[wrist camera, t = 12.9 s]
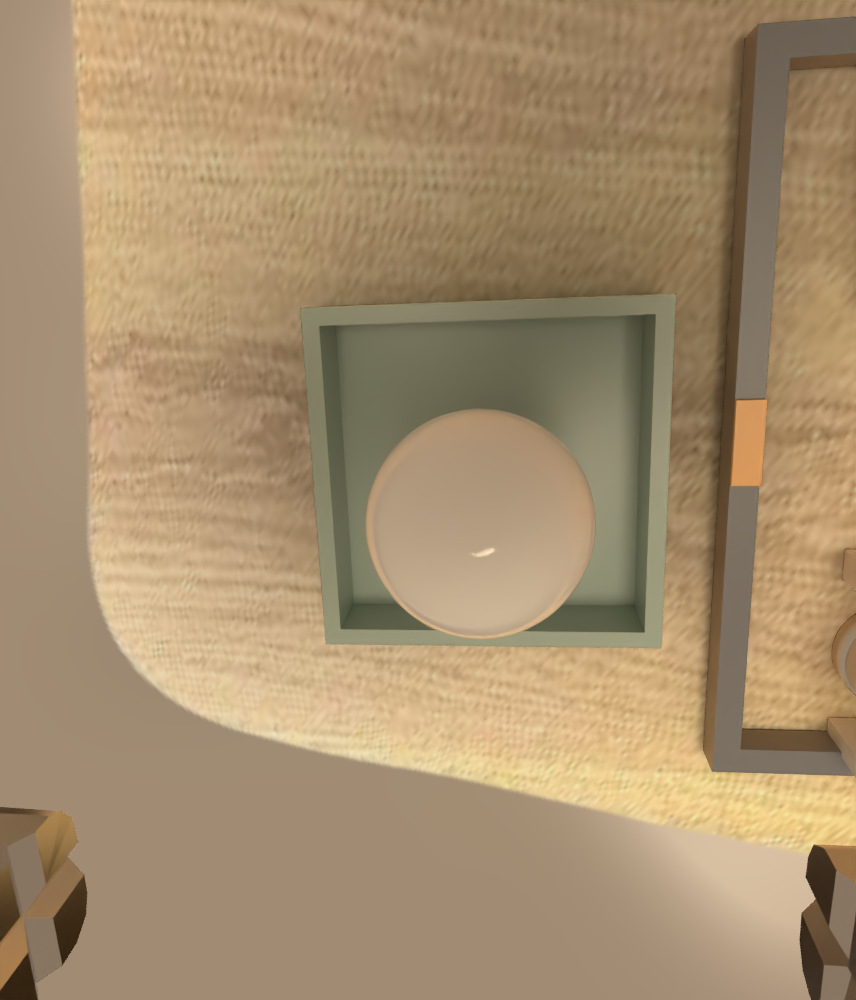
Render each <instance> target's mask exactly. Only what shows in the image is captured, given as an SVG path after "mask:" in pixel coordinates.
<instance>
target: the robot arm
mask: <svg viewBox="0 0 856 1000" xmlns="http://www.w3.org/2000/svg"><path fill="white" fill-rule="evenodd" d="M77 843H78V840H77V836H76V831H75V827H74V823H73V819H72V817H71V816H69V815H67V814H65V813H63V812H62V811H51V810H35V809H21V808H8V807H0V1000H38V988H37V982H39V981H40V980H42V979H43V978H45V977H46V976H48V975H49V974H51V973H52V972H54V971H55V970H57V969H58V968H60V967H61V966H62V965H63V964H64V962H65V960H66V959H67V958H68V956H69V954H70V953H71V951H72V950H73V948H74V946H75V945H76V943H77V941H78V938H79V935H80V932H81V928H82V925H83V923H84V920H85V917H86V906H87V888H86V882H85V876H84V874H83V873H82V872H81V871H80V869H79V868H78V867H77V866H76V865H75V864H74V863H73V862H72V861H71V860H70V858H69V856H70V854H71V852H72V851H73V849H74V848H75V846H76V844H77ZM806 879H807V881H808V883H809V885H810V888H811V890H812V892H813V894H814V896H815V898H816V900H815V901H814V902H813V903H812V904H810V906H809V907H807V908H806V909H805V910H804V911H803V912H802V915H801V928H800V929H801V930H800V949H801V958H802V967H803V973H804V977H805V980H806V984H807V988H808V992H809V995H810V998H811V1000H856V846H838V845H813V847H812V849H811V852H810V854H809V856H808V863H807V871H806Z"/></svg>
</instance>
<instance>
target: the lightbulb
mask: <svg viewBox="0 0 856 1000" xmlns="http://www.w3.org/2000/svg"><path fill="white" fill-rule="evenodd" d="M365 531H366V540H367V546H368V550H369V554H370V558H371V561H372V563H373V566H374V568H375V571H376V573H377V575H378V577H379V579H380V580H381V582H382V584H383V585H384V587H385V588H386V590H387V591H388V593H389V594H390V595H391V596H392V598H393V599H394V600H395V601H396V602H397V603H398V604H399V605H400V606H401V607H402V608H403V609H404V610H405V611H406V612H408V613H409V614H410V615H411V616H413V617H414V618H416V619H417V620H419V621H420V622H422V623H423V624H425V625H427V626H429V627H431V628H433V629H435V630H438V631H440V632H443V633H446V634H449V635H453V636H458V637H463V638H472V639H489V638H498V637H504V636H508V635H512V634H515V633H518V632H521V631H524V630H526V629H528V628H530V627H532V626H534V625H536V624H538V623H540V622H541V621H543V620H545V619H546V618H548V617H549V616H550V615H552V614H553V613H554V612H555V611H556V610H557V609H559V608H560V607H561V606H562V605H563V604H564V603H565V602H566V601H567V599H568V598H569V597H570V596H571V595H572V593H573V592H574V590H575V589H576V588H577V586H578V585H579V583H580V581H581V580H582V578H583V576H584V574H585V572H586V570H587V567H588V565H589V562H590V559H591V556H592V552H593V548H594V543H595V535H596V513H595V505H594V500H593V496H592V492H591V489H590V486H589V483H588V480H587V478H586V476H585V474H584V472H583V470H582V468H581V466H580V464H579V463H578V461H577V460H576V458H575V457H574V456H573V454H572V453H571V452H570V450H569V449H568V448H567V447H566V446H565V445H564V444H563V443H562V442H561V441H560V440H559V439H558V438H557V437H556V436H555V435H554V434H552V433H551V432H550V431H548V430H547V429H545V428H544V427H542V426H541V425H539V424H537V423H536V422H534V421H532V420H530V419H528V418H525V417H523V416H520V415H517V414H514V413H511V412H507V411H502V410H496V409H484V408H477V409H465V410H459V411H454V412H450V413H447V414H444V415H441V416H438V417H436V418H433V419H431V420H429V421H427V422H425V423H424V424H422V425H420V426H419V427H417V428H415V429H414V430H413V431H411V432H410V433H409V434H407V435H406V436H405V437H404V438H403V439H402V440H401V441H400V442H399V443H398V444H397V445H396V446H395V447H394V448H393V449H392V450H391V452H390V453H389V454H388V456H387V457H386V458H385V460H384V461H383V463H382V465H381V466H380V468H379V470H378V472H377V474H376V476H375V478H374V481H373V483H372V486H371V489H370V492H369V496H368V501H367V506H366V515H365Z"/></svg>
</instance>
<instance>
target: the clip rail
mask: <svg viewBox="0 0 856 1000" xmlns="http://www.w3.org/2000/svg"><path fill="white" fill-rule="evenodd" d="M841 66H856V17H843V18H830V19H817V20H803V21H790V22H777V23H763V24H758V25H757V26H756V27H755V28H754V29H753V30H752V32H751V33H750V34H749V35H748V36H747V37H746V38H745V42H744V59H743V76H742V93H741V110H740V128H739V145H738V162H737V179H736V196H735V213H734V231H733V248H732V265H731V282H730V299H729V317H728V334H727V351H726V368H725V385H724V403H723V420H722V437H721V454H720V471H719V488H718V506H717V523H716V540H715V557H714V574H713V592H712V609H711V626H710V643H709V660H708V678H707V695H706V712H705V729H704V746H703V751H704V753H705V755H706V758H707V760H708V763H709V765H710V768H711V770H712V772H740V773H773V774H806V775H839V776H855V777H856V718H828V723H827V731H803V730H762V729H742V721H743V707H744V693H745V679H746V665H747V651H748V637H749V623H750V609H751V595H752V581H753V567H754V553H755V539H756V525H757V511H758V497H759V486H761V481H762V467H763V453H764V439H765V425H766V412H767V399H766V386H767V372H768V358H769V344H770V330H771V316H772V302H773V288H774V274H775V260H776V246H777V232H778V218H779V204H780V190H781V176H782V162H783V149H784V135H785V121H786V107H787V93H788V79H789V70H797V69H812V68H826V67H841ZM842 580H843V581H844V582H845V583H847V584H848V585H849V586H850V587H851V588H852V589H853V590H854V591H856V549H845V557H844V567H843V577H842Z"/></svg>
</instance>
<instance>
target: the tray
mask: <svg viewBox="0 0 856 1000" xmlns="http://www.w3.org/2000/svg"><path fill="white" fill-rule="evenodd" d="M675 309H676V294H641V295H614V296H588V297H561V298H534V299H508V300H481V301H454V302H427V303H401V304H374V305H347V306H321V307H307V308H300V312H301V325H302V338H303V351H304V364H305V378H306V391H307V404H308V417H309V430H310V443H311V456H312V469H313V483H314V496H315V509H316V522H317V535H318V548H319V561H320V575H321V588H322V601H323V614H324V627H325V640H326V644H360V645H436V646H513V647H589V648H661V647H662V622H663V598H664V574H665V550H666V526H667V502H668V478H669V454H670V429H671V405H672V381H673V357H674V333H675ZM477 408H484V409H496V410H502V411H507V412H511V413H514V414H517V415H520V416H523V417H525V418H528V419H530V420H532V421H534V422H536V423H537V424H539V425H541V426H542V427H544V428H545V429H547V430H548V431H550V432H551V433H552V434H554V435H555V436H556V437H557V438H558V439H559V440H560V441H561V442H562V443H563V444H564V445H565V446H566V447H567V448H568V449H569V450H570V452H571V453H572V454H573V456H574V457H575V458H576V460H577V461H578V463H579V464H580V466H581V468H582V470H583V472H584V474H585V476H586V478H587V480H588V483H589V486H590V489H591V492H592V496H593V500H594V505H595V513H596V535H595V543H594V548H593V552H592V556H591V559H590V562H589V565H588V567H587V570H586V572H585V574H584V576H583V578H582V580H581V581H580V583H579V585H578V586H577V588H576V589H575V590H574V592H573V593H572V595H571V596H570V597H569V598H568V599H567V601H566V602H565V603H564V604H563V605H562V606H561V607H560V608H559V609H557V610H556V611H555V612H554V613H553V614H552V615H550V616H549V617H548V618H546V619H545V620H543V621H541V622H540V623H538V624H536V625H534V626H532V627H530V628H528V629H526V630H524V631H521V632H518V633H515V634H512V635H508V636H504V637H498V638H489V639H472V638H463V637H458V636H453V635H449V634H446V633H443V632H440V631H438V630H435V629H433V628H431V627H429V626H427V625H425V624H423V623H422V622H420V621H419V620H417V619H416V618H414V617H413V616H411V615H410V614H409V613H408V612H406V611H405V610H404V609H403V608H402V607H401V606H400V605H399V604H398V603H397V602H396V601H395V600H394V599H393V598H392V596H391V595H390V594H389V593H388V591H387V590H386V588H385V587H384V585H383V584H382V582H381V580H380V579H379V577H378V575H377V573H376V571H375V568H374V566H373V563H372V561H371V558H370V554H369V550H368V546H367V540H366V531H365V515H366V506H367V501H368V496H369V492H370V489H371V486H372V483H373V481H374V478H375V476H376V474H377V472H378V470H379V468H380V466H381V465H382V463H383V461H384V460H385V458H386V457H387V456H388V454H389V453H390V452H391V450H392V449H393V448H394V447H395V446H396V445H397V444H398V443H399V442H400V441H401V440H402V439H403V438H404V437H405V436H406V435H407V434H409V433H410V432H411V431H413V430H414V429H415V428H417V427H419V426H420V425H422V424H424V423H425V422H427V421H429V420H431V419H433V418H436V417H438V416H441V415H444V414H447V413H450V412H454V411H459V410H465V409H477Z"/></svg>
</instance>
